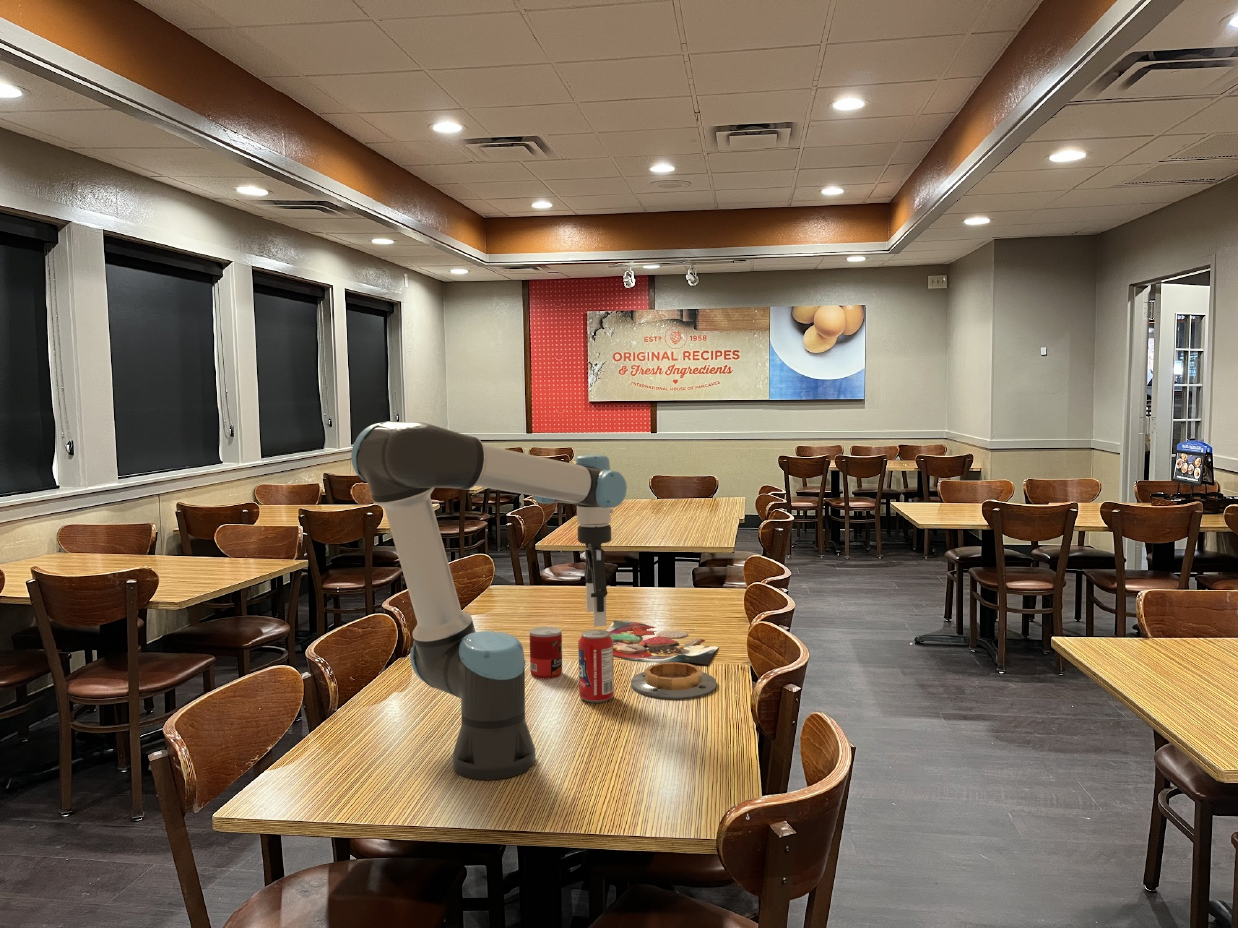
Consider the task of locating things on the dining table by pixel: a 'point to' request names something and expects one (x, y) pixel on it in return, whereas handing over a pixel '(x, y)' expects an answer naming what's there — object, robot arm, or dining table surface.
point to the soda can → (596, 666)
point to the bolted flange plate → (673, 681)
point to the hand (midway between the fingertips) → (596, 618)
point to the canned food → (546, 652)
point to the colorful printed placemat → (656, 645)
